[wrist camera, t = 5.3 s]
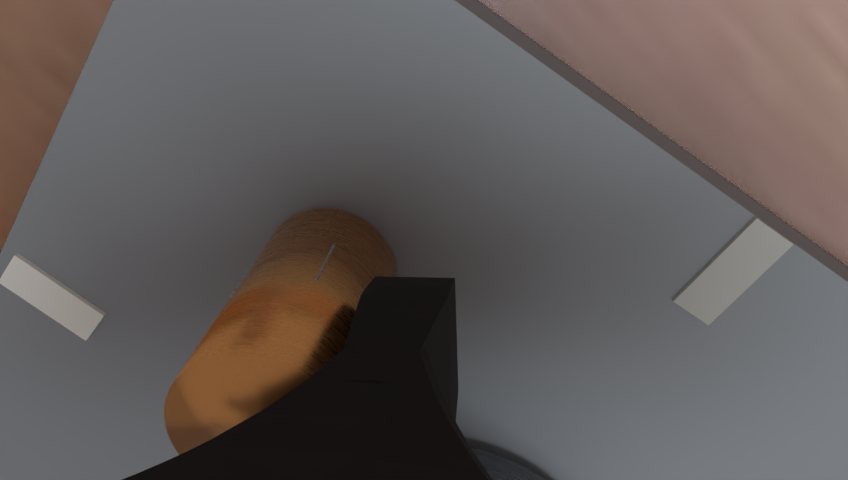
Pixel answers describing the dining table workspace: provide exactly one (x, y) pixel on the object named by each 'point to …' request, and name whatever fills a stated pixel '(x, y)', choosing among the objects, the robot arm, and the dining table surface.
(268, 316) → the crank
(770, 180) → the dining table surface
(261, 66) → the stand
